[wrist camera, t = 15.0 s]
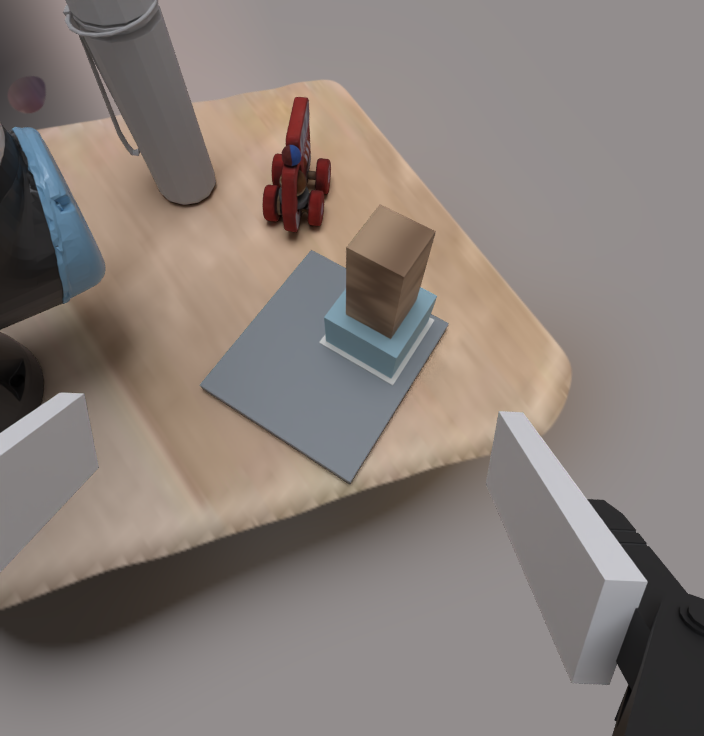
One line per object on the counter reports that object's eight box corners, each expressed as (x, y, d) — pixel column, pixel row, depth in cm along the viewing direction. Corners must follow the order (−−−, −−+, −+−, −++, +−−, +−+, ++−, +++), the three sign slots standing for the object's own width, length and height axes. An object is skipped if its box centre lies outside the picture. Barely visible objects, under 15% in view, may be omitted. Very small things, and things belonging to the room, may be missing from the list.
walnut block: (345, 314, 43) (346, 247, 34) (372, 277, 45) (379, 204, 36) (390, 339, 42) (404, 277, 33) (416, 300, 44) (435, 231, 35)
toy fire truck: (262, 238, 55) (245, 170, 45) (281, 164, 59) (269, 87, 50) (319, 245, 54) (314, 177, 45) (333, 169, 59) (331, 94, 50)
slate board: (202, 389, 47) (199, 384, 45) (311, 256, 54) (311, 249, 52) (350, 484, 43) (350, 482, 42) (446, 328, 50) (448, 323, 49)
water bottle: (222, 164, 59) (146, -89, 36) (213, 211, 56) (124, -33, 33) (152, 162, 59) (30, -93, 36) (139, 209, 56) (-3, -38, 33)
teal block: (325, 340, 48) (323, 317, 43) (365, 287, 50) (367, 259, 46) (391, 378, 46) (396, 358, 41) (428, 321, 49) (437, 296, 44)
